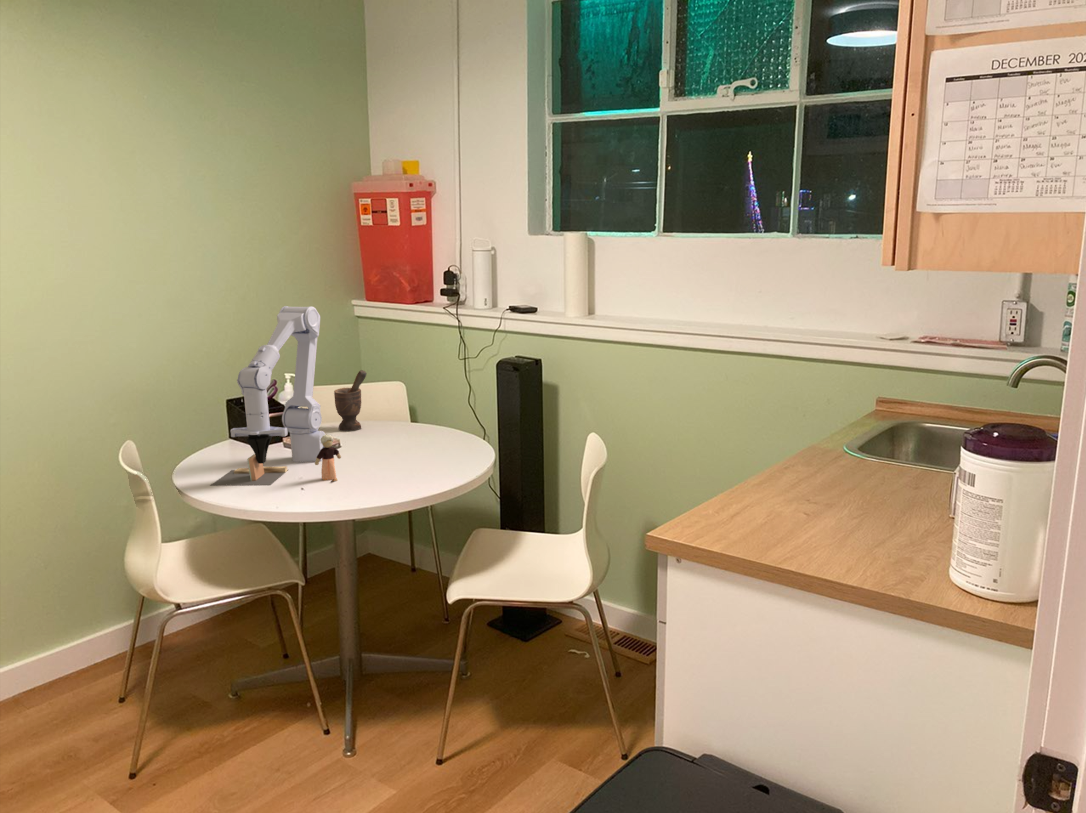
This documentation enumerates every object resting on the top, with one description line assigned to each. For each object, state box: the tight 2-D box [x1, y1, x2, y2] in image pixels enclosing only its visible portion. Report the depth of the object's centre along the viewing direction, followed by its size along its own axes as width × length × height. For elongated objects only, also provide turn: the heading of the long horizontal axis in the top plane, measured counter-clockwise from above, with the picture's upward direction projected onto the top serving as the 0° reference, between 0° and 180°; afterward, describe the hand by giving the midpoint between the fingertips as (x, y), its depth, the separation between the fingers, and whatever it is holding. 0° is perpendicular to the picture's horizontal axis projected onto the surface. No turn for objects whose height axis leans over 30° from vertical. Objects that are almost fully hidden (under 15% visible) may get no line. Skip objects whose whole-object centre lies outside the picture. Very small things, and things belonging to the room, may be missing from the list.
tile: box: [247, 453, 264, 481], centre depth 231 cm, size 1×6×6 cm, turn 177°
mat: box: [209, 469, 287, 487], centre depth 232 cm, size 16×14×1 cm
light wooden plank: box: [234, 465, 289, 474], centre depth 236 cm, size 14×3×1 cm, turn 87°
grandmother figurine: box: [314, 433, 342, 483], centre depth 228 cm, size 8×4×13 cm, turn 148°
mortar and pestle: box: [333, 369, 367, 432], centre depth 283 cm, size 12×9×20 cm
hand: (262, 462), depth 230 cm, fingers closed
